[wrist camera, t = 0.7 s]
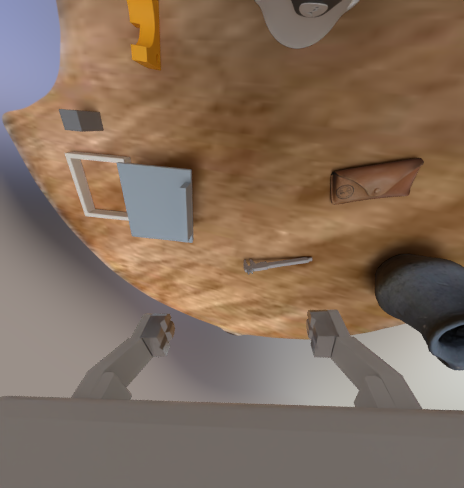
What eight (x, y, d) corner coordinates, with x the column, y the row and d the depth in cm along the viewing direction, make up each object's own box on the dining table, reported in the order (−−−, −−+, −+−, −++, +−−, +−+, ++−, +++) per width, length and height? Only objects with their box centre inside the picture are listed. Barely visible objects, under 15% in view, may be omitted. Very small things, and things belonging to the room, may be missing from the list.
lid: (119, 162, 41) (104, 166, 36) (191, 169, 40) (185, 174, 36) (134, 234, 50) (123, 244, 45) (193, 240, 49) (188, 251, 45)
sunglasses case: (331, 207, 50) (341, 196, 43) (326, 181, 51) (334, 167, 45) (411, 195, 47) (434, 182, 41) (403, 168, 48) (424, 151, 42)
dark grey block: (84, 110, 44) (58, 109, 38) (99, 112, 44) (76, 110, 38) (88, 128, 46) (65, 129, 40) (103, 130, 46) (82, 131, 40)
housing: (74, 151, 49) (64, 152, 46) (130, 157, 49) (123, 158, 46) (92, 211, 57) (85, 216, 55) (140, 216, 57) (135, 221, 54)
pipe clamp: (132, -27, 33) (109, -56, 28) (158, -22, 33) (140, -50, 28) (139, 66, 40) (122, 57, 34) (161, 70, 40) (147, 62, 34)
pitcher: (444, 232, 53) (575, 304, 32) (429, 290, 64) (520, 373, 42) (360, 248, 57) (427, 322, 36) (359, 300, 68) (410, 380, 47)
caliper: (244, 261, 62) (243, 275, 57) (243, 259, 62) (243, 272, 56) (311, 259, 60) (317, 273, 55) (311, 256, 59) (317, 270, 54)
